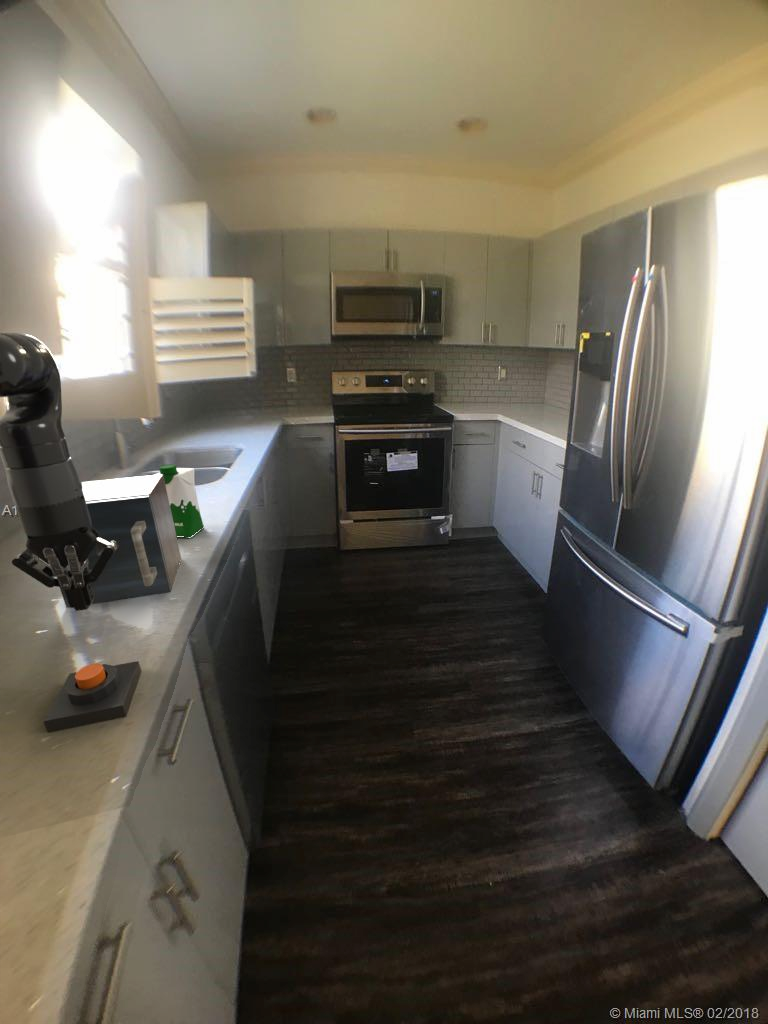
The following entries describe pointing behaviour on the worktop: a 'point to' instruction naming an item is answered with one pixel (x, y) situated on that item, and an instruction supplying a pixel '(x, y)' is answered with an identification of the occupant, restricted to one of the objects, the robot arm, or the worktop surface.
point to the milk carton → (182, 499)
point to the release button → (90, 676)
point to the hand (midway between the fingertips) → (84, 607)
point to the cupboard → (160, 505)
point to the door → (127, 550)
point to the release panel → (94, 699)
